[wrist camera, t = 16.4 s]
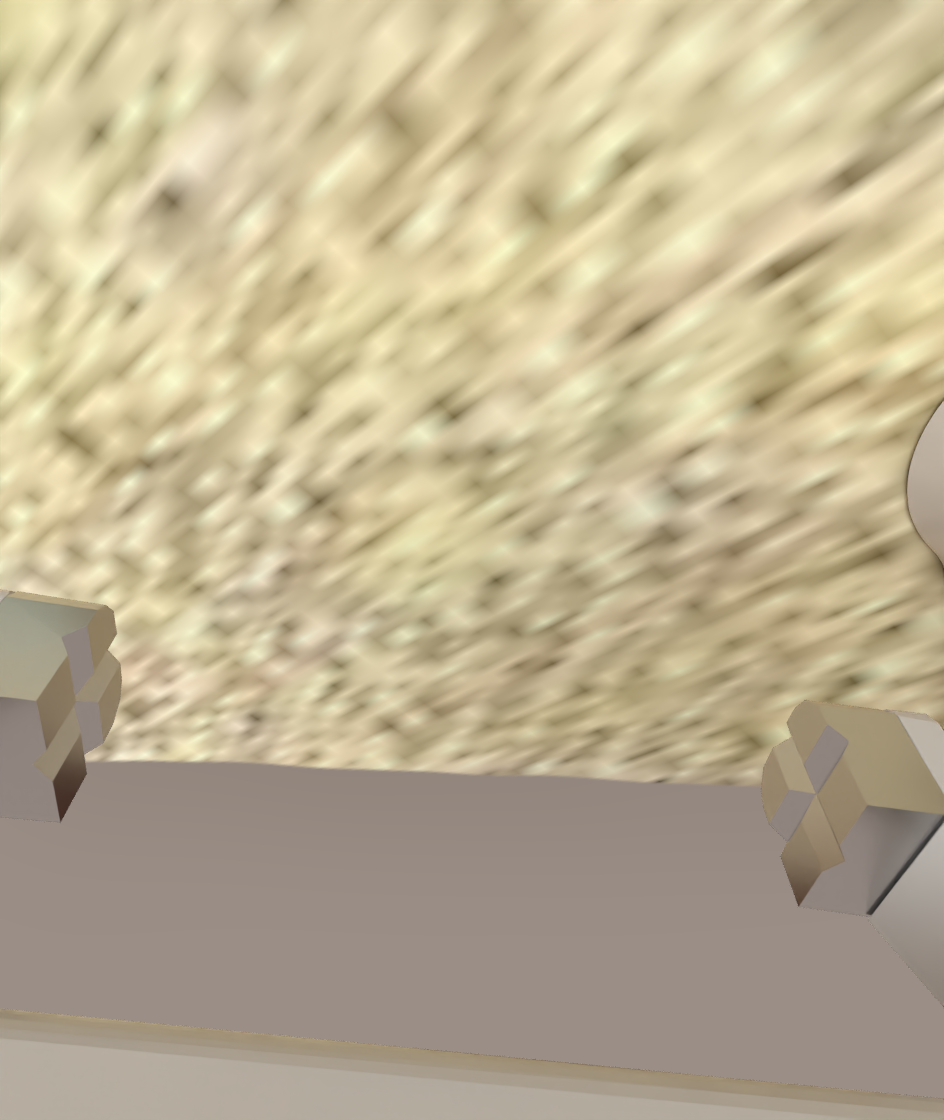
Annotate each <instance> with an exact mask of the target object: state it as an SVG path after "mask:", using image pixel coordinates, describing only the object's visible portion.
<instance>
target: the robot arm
mask: <svg viewBox="0 0 944 1120" xmlns="http://www.w3.org/2000/svg"><path fill="white" fill-rule="evenodd" d="M907 498H908V506H909V511H910V515H911V518H912V521H913V523H914V525H915V527H916V529H917V531H918V533H919V534H920V536H921V537H922V539H923V540H924V541H925V543H926V544H927V545H928V546H929V547H930V548H931V549H932V550H933V551H934V552H935V553H936V555H937V556H938V557H939V559H940V560H941V562H942V564H943V566H944V401H943V402H942V404H941V405H940V406H939V408H938V409H937V410H936V412H935V413H934V415H933V416H932V418H931V419H930V421H929V423H928V424H927V426H926V428H925V430H924V431H923V433H922V435H921V438H920V440H919V442H918V444H917V447H916V449H915V452H914V455H913V458H912V461H911V465H910V469H909V475H908V484H907ZM116 635H117V631H116V624H115V618H114V611H113V610H112V609H110V608H109V607H108V606H106V605H101V604H95V603H89V602H82V601H76V600H70V599H63V598H57V597H51V596H44V595H38V594H32V593H25V592H19V591H17V592H13V591H8V590H1V589H0V817H1V818H12V819H23V820H35V821H47V822H58V823H60V822H61V821H62V819H63V817H64V815H65V813H66V811H67V810H68V808H69V806H70V804H71V802H72V800H73V798H74V797H75V795H76V793H77V791H78V789H79V787H80V786H81V784H82V782H83V780H84V778H85V776H86V775H87V772H86V764H85V758H84V754H86V753H88V752H89V751H91V750H93V749H94V748H96V747H98V746H99V745H101V744H103V743H104V741H105V739H106V737H107V735H108V733H109V731H110V729H111V727H112V725H113V723H114V719H115V716H116V712H117V709H118V705H119V702H120V697H121V684H122V676H121V665H120V663H119V661H118V660H117V659H116V658H115V657H114V656H113V655H112V654H111V653H110V652H109V651H108V648H109V646H110V645H111V643H112V641H113V640H114V638H115V636H116ZM787 725H788V728H789V730H790V733H791V736H792V737H791V738H789V739H788V740H786V741H784V742H782V743H781V744H779V745H777V746H776V747H774V748H773V749H772V751H771V753H770V755H769V757H768V759H767V761H766V764H765V766H764V768H763V776H762V784H761V794H762V802H763V808H764V811H765V813H766V816H767V819H768V822H769V825H770V826H771V827H772V828H773V829H775V830H776V831H777V832H778V833H779V834H780V835H781V836H782V837H783V838H784V839H785V840H786V841H787V843H786V845H785V848H784V850H783V852H782V854H781V859H782V862H783V865H784V868H785V870H786V873H787V876H788V879H789V881H790V884H791V887H792V889H793V892H794V895H795V898H796V901H797V904H798V906H799V907H803V908H810V909H817V910H824V911H831V912H838V913H845V914H852V915H859V916H866V917H870V918H869V919H868V921H869V922H870V923H871V924H872V926H873V927H874V928H875V929H876V930H877V931H878V933H879V934H880V935H881V936H882V937H883V938H884V939H885V940H886V942H887V943H888V944H889V945H890V946H891V947H892V948H893V950H894V951H895V952H896V953H897V954H898V955H899V957H900V958H901V959H902V960H903V961H904V962H905V963H906V965H907V966H908V967H909V968H910V969H911V970H912V971H913V973H914V974H915V975H916V976H917V977H918V978H919V979H920V981H921V982H922V983H923V984H924V985H925V986H926V987H927V989H928V990H929V991H930V992H931V993H932V994H933V995H934V997H935V998H936V999H937V1000H938V1001H939V1002H940V1004H941V1005H942V1006H943V1007H944V731H943V729H942V728H941V726H940V725H939V723H938V722H937V721H935V720H934V719H933V718H931V717H930V716H928V715H927V714H920V713H912V712H903V711H894V710H879V709H871V708H864V707H856V706H848V705H840V704H832V703H825V702H817V701H809V700H804V701H803V702H802V703H801V704H799V705H798V706H797V707H796V708H795V709H794V711H793V712H792V714H791V716H790V718H789V720H788V721H787ZM0 1120H944V1099H943V1098H932V1097H922V1096H911V1095H901V1094H890V1093H880V1092H870V1091H859V1090H849V1089H839V1088H828V1087H818V1086H807V1085H796V1084H786V1083H776V1082H765V1081H755V1080H744V1079H734V1078H723V1077H713V1076H702V1075H691V1074H681V1073H670V1072H661V1071H650V1070H640V1069H630V1068H619V1067H608V1066H598V1065H587V1064H577V1063H567V1062H556V1061H546V1060H536V1059H525V1058H514V1057H503V1056H493V1055H482V1054H472V1053H461V1052H451V1051H439V1050H429V1049H419V1048H408V1047H397V1046H387V1045H376V1044H365V1043H355V1042H345V1041H334V1040H323V1039H312V1038H301V1037H292V1036H291V1037H290V1036H281V1035H271V1034H260V1033H250V1032H239V1031H228V1030H217V1029H207V1028H196V1027H187V1026H176V1025H166V1024H155V1023H145V1022H134V1021H124V1020H113V1019H103V1018H92V1017H82V1016H71V1015H61V1014H51V1013H39V1012H29V1011H19V1010H9V1009H0Z"/></svg>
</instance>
